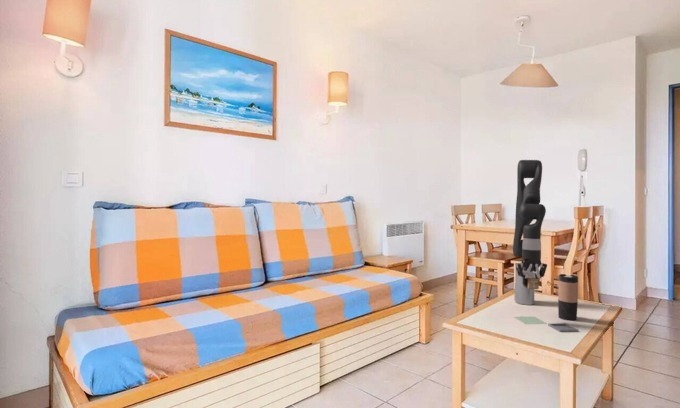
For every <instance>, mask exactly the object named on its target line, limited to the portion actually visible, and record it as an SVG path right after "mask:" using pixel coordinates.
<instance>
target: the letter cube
mask: <svg viewBox="0 0 680 408" xmlns="http://www.w3.org/2000/svg"><path fill="white" fill-rule="evenodd" d="M527 279H528V284H527V287H525V286H524V285H523V287H525V288H527V289H535V290H539V289H540V288H539V287H540V282H539V279H537V278H534V277H527Z"/></svg>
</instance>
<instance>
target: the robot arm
mask: <svg viewBox="0 0 680 408" xmlns="http://www.w3.org/2000/svg"><path fill="white" fill-rule="evenodd" d="M516 173H517V181H516V182H517V186H516V188H517V189H516V192H517V193H516V202H515V222H514V224H515V226H514V227H515V228H514V235H513V242H512V253H513V256H514V257H517V258H522V260H521V262H519V263H515V278H514V280H515V281H514V302H515V303H516V304H520V305H525V306H526V305H528V306H529V305H535V293H536V292H535V291H536V289H527V288H525V287H527V284H528V279H527V277H534V278H537V279H539V283H540V280H541V279H540V278H544V277H545V274H546V271H547V267H548V264H547V263H544V262H542V261H541V259H542V241H541V238H542V235H541V233H542V226H543V222H544V219H545V216H546V212H547V209H546V207H545V205H544V204H543V203H541V184H542V179H543V178H542V176H543V162H542V161H541V160H538V159H521V160H519V161H518V163H517V172H516ZM525 179H531V181H530V182H529V183H528V184H526V183H525ZM534 220H535V222H534V223H532V222H533V221H534ZM523 285H524V286H525V287H523Z"/></svg>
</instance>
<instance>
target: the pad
mask: <svg viewBox="0 0 680 408" xmlns="http://www.w3.org/2000/svg"><path fill="white" fill-rule="evenodd" d="M513 318H515V319H516V320H518V321H520V322H521V323H523V324H524V325H547V324H548V322H547V323H546V321H545V322H544V321H543V320H542V319H540V318H538V317H536V316H513Z"/></svg>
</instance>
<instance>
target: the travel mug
mask: <svg viewBox="0 0 680 408" xmlns="http://www.w3.org/2000/svg"><path fill="white" fill-rule="evenodd" d="M578 291H579V277H578V276H577V275H575V274H570V275H567V274H564V273H560V274H559V275H558V295H557V297H558V298H557V301H558V304H557V305H558V306H557V307H558V310H557V311H558V319H560V320H563V321H568V322H570V321H571V322H575V321H577V319H578V318H577V317H578V303H579V298H578V295H579V292H578Z"/></svg>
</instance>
